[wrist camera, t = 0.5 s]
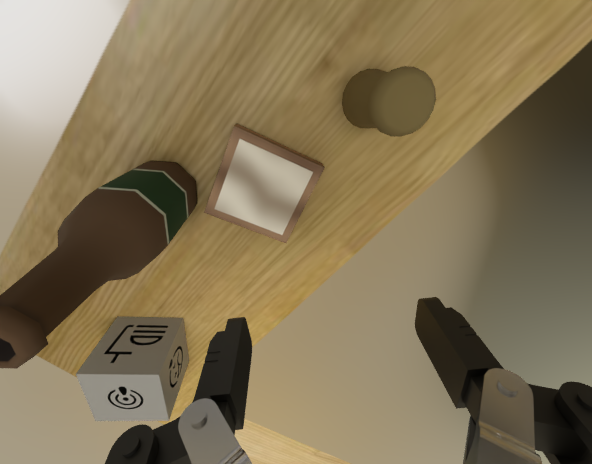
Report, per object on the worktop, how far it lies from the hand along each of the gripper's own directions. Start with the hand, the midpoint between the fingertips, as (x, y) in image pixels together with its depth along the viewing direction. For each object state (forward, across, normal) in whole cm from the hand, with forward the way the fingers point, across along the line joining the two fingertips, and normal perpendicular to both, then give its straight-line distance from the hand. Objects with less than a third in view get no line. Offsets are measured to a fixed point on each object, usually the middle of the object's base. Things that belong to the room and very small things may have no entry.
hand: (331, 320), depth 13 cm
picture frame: (+24, +5, +1) cm, 25 cm away
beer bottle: (+24, +17, 0) cm, 30 cm away
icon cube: (+24, +27, +25) cm, 44 cm away
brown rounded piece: (+25, -8, -7) cm, 27 cm away
